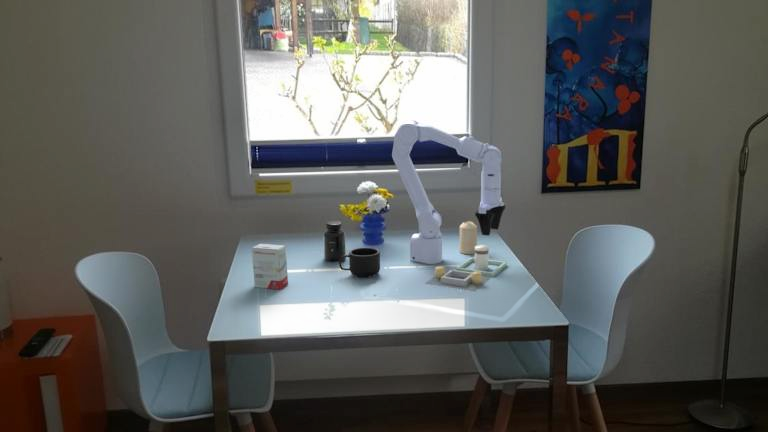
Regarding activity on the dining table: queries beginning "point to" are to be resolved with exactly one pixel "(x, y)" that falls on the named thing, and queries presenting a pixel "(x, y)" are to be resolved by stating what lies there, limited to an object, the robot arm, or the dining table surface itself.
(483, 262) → the cylinder
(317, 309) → the dining table surface
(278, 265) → the ink box
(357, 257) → the mug
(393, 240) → the dining table surface
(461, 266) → the parts tray
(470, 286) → the fuse panel
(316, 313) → the dining table surface
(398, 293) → the dining table surface
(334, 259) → the supplement bottle
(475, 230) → the candle
